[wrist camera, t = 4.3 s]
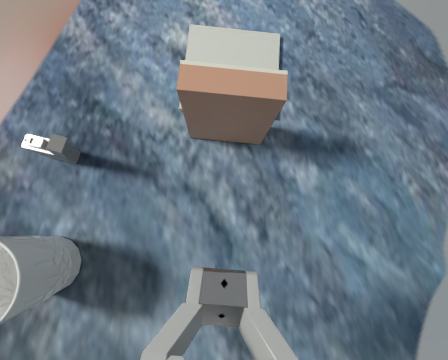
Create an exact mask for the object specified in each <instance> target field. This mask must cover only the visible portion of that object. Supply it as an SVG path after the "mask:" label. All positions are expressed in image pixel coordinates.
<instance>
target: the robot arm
mask: <svg viewBox="0 0 448 360" xmlns="http://www.w3.org/2000/svg"><path fill="white" fill-rule="evenodd" d="M201 325H214V326H227V327H237V328H239V331H240V333H241V335H242V337H243V339H244V341H245V343H246V345H247V347H248V349H249V351H250V353H251V355H252V357H253V359H254V360H298V359H297V357H296V356H295V354H294V353H293V351H292V350H291V348H290V347H289V345H288V344H287V342H286V341H285V339H284V338H283V336H282V335H281V333H280V332H279V330H278V329H277V327H276V326H275V324H274V323H273V322H272V320H271V319H270V317H269V316H268V314H267V313H266V311H265V310H264V309H261V305H260V295H259V286H258V276H257V273H256V272H253V271H243V270H227V269H212V268H203V267H192V270H191V276H190V282H189V288H188V294H187V300H186V303H182V304H181V306H180V307H179V308H178V309H177V310H176V312H175V313H174V314H173V315H172V317H171V318H170V319H169V320H168V321H167V323H166V324H165V325H164V326H163V328H162V329H161V330H160V331H159V332H158V334H157V335H156V336H155V337H154V339H153V340H152V341H151V342H150V343H149V345H148V346H147V347H146V348H145V350H144V351H143V352H142V356H141V359H140V360H184V358H183V357H182V356H183V354H184V353H185V351H186V349H187V348H188V346H189V345H190V343H191V341H192V340H193V338H194V337H195V335H196V334H197V332H198V330H199V329H200V327H201Z"/></svg>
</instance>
